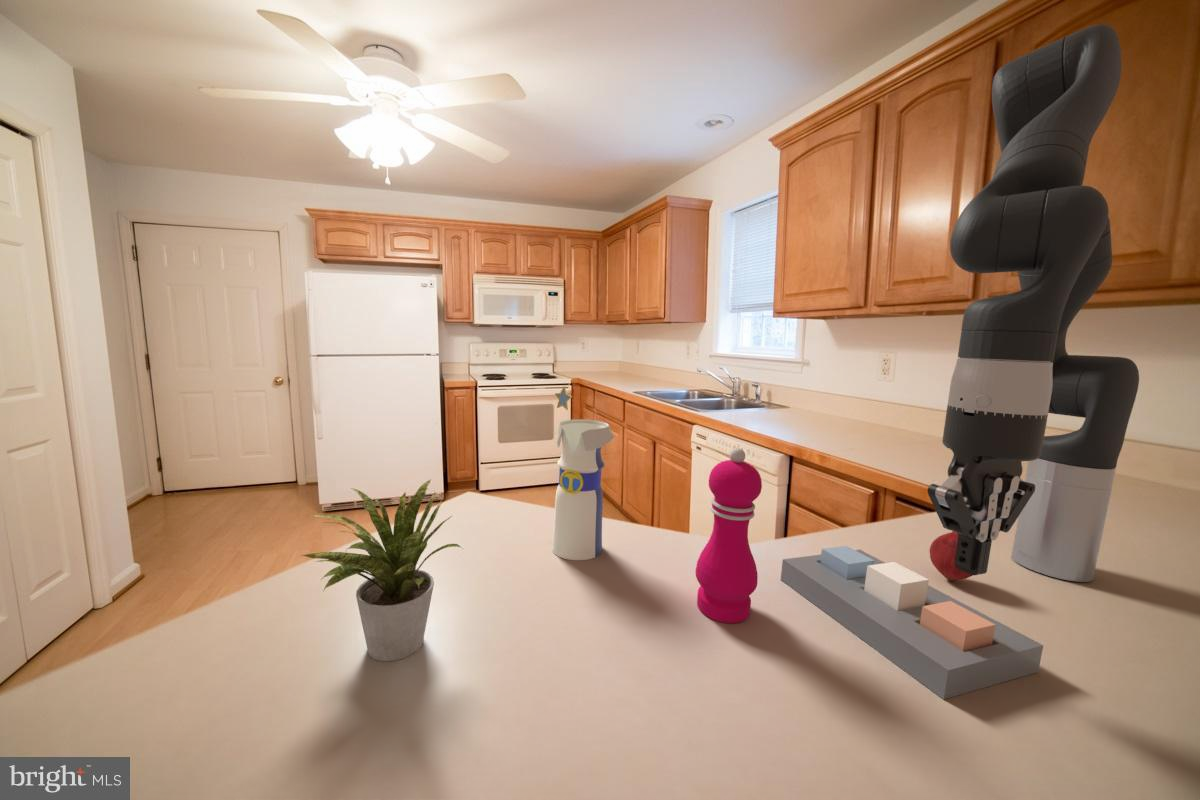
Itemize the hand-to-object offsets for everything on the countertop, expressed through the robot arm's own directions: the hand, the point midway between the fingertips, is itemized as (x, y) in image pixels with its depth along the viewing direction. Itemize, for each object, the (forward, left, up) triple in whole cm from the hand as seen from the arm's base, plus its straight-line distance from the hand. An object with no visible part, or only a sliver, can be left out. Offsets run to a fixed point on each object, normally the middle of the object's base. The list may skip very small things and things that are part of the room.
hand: (969, 570), depth 47 cm
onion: (-18, -12, -10) cm, 24 cm away
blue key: (0, -14, -9) cm, 17 cm away
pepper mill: (+19, -14, -10) cm, 26 cm away
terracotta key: (0, 0, -9) cm, 9 cm away
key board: (0, -7, -10) cm, 12 cm away
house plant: (+56, -18, -10) cm, 60 cm away
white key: (0, -7, -8) cm, 11 cm away
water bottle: (+32, -33, -10) cm, 47 cm away
